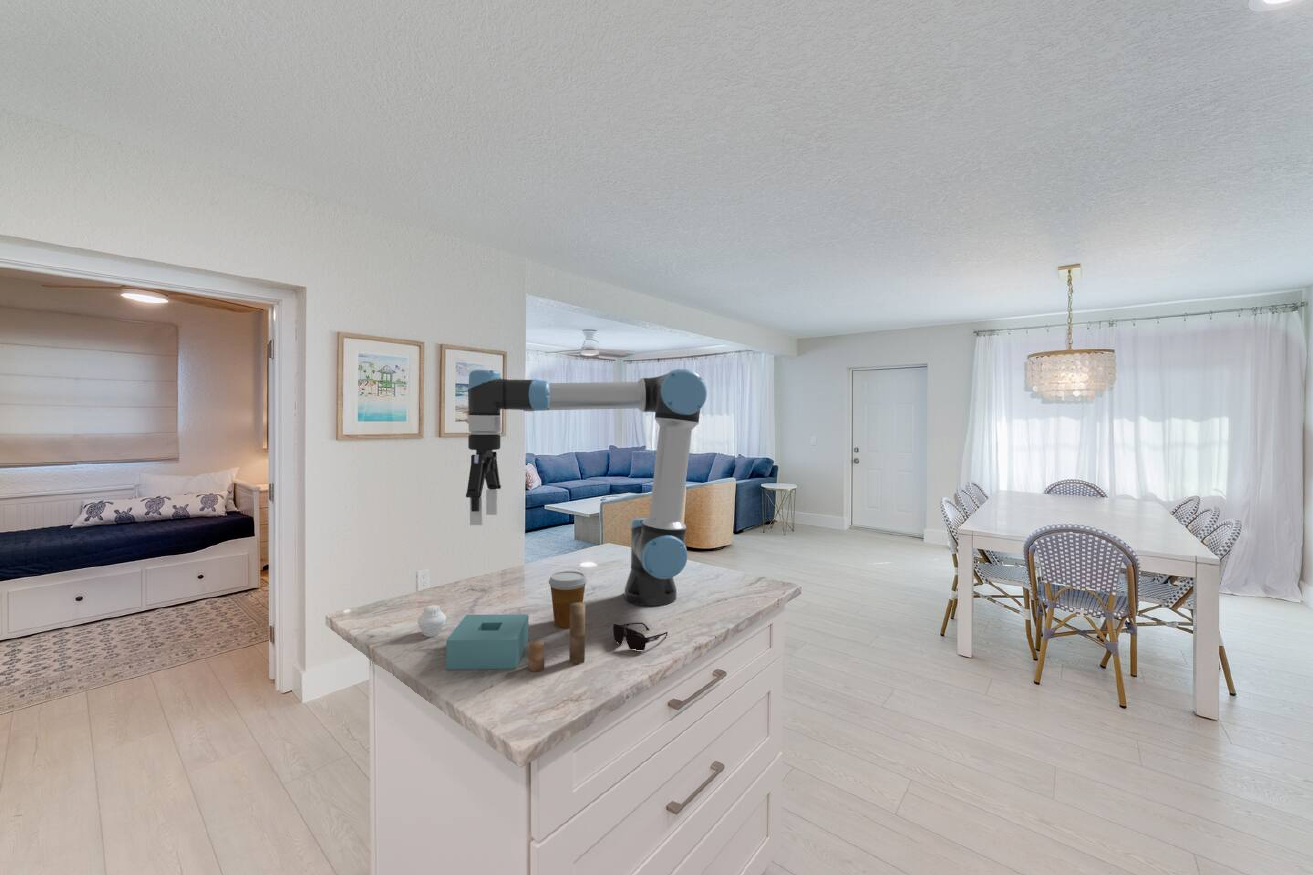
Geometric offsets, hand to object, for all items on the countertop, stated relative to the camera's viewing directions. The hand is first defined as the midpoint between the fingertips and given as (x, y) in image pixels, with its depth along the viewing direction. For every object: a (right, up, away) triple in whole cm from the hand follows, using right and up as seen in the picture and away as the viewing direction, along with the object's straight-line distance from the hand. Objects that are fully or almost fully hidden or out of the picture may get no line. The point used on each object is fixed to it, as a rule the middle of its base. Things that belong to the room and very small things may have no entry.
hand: (484, 519), depth 130 cm
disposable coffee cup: (+20, -27, +2) cm, 33 cm away
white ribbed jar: (-10, -26, -6) cm, 29 cm away
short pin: (+18, -27, -22) cm, 39 cm away
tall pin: (+26, -27, -19) cm, 42 cm away
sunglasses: (+39, -27, -8) cm, 48 cm away
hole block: (+6, -27, -16) cm, 32 cm away
